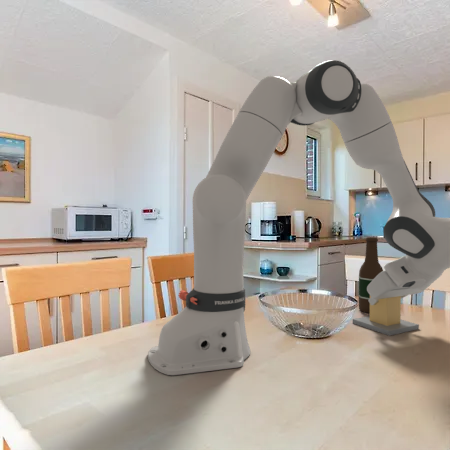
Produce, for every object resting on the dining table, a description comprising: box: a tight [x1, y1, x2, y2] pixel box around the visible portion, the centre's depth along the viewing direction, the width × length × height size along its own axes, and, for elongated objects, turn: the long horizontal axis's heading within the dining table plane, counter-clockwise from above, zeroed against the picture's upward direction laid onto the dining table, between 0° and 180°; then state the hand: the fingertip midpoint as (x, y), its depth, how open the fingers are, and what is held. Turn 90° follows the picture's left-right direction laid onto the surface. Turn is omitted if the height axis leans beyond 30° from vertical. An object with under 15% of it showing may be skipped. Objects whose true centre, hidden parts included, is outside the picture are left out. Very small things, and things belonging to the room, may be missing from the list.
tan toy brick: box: [369, 296, 402, 326], centre depth 98 cm, size 6×6×9 cm
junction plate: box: [352, 315, 420, 336], centre depth 98 cm, size 12×12×4 cm
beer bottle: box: [358, 236, 384, 314], centre depth 114 cm, size 8×8×24 cm
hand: (383, 301), depth 98 cm, fingers open, 8 cm apart
